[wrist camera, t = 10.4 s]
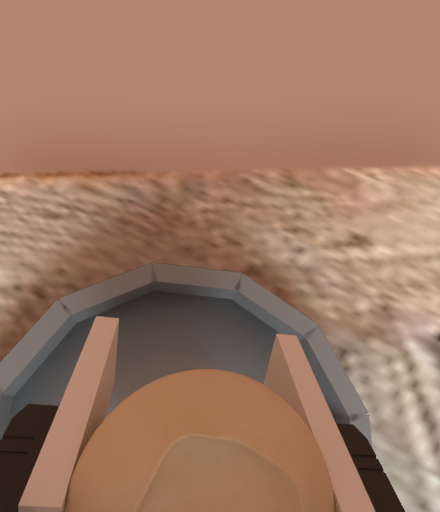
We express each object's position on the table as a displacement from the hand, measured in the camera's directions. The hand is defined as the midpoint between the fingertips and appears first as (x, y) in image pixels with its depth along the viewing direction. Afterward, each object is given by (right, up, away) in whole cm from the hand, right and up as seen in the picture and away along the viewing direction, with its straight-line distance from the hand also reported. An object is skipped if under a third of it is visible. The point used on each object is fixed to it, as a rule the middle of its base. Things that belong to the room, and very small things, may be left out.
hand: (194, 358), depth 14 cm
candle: (-1, -5, +2) cm, 5 cm away
